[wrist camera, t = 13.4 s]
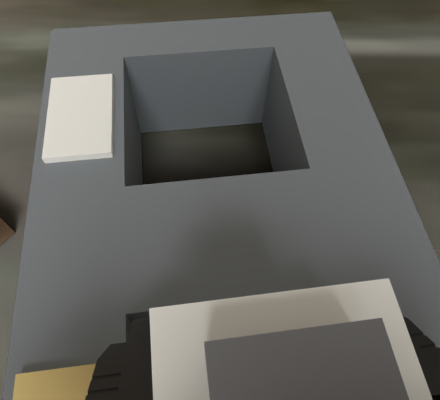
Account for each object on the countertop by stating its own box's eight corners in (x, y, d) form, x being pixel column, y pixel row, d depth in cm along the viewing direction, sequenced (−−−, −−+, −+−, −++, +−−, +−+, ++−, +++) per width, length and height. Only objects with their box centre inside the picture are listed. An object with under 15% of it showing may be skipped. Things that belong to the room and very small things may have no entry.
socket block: (82, 107, 22) (48, 23, 17) (308, 89, 23) (332, 5, 19) (46, 686, 11) (-69, 866, 7) (479, 601, 12) (641, 704, 8)
